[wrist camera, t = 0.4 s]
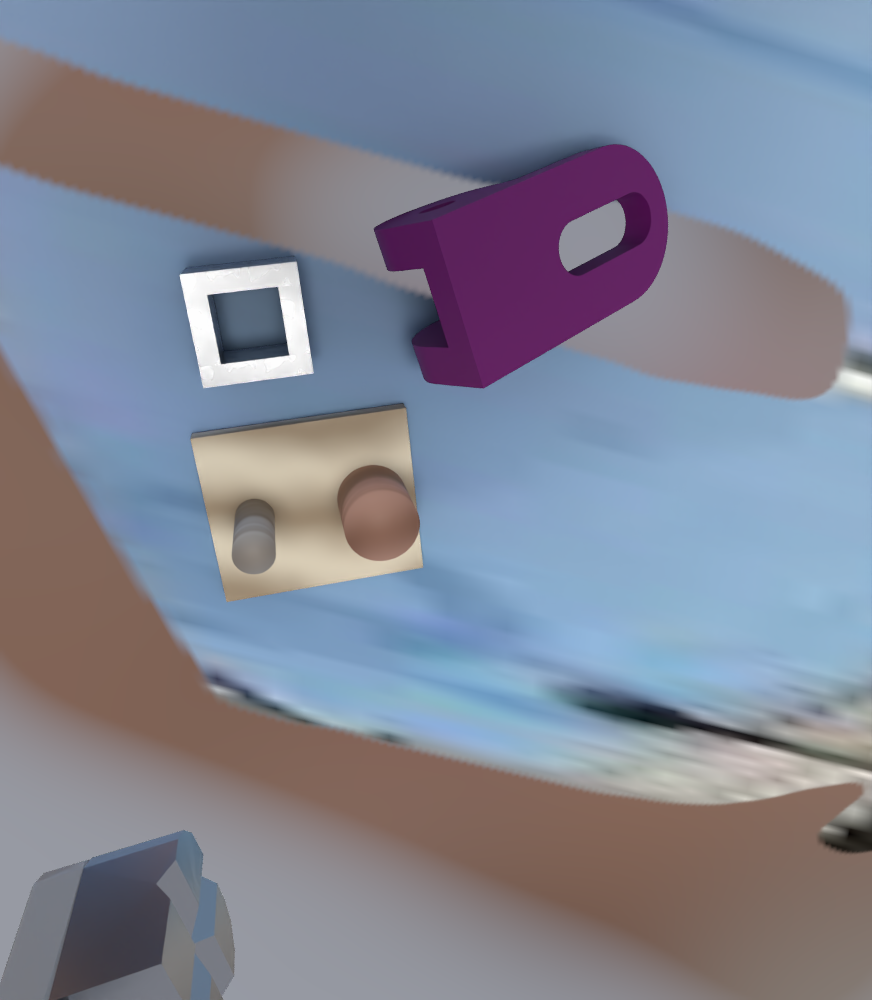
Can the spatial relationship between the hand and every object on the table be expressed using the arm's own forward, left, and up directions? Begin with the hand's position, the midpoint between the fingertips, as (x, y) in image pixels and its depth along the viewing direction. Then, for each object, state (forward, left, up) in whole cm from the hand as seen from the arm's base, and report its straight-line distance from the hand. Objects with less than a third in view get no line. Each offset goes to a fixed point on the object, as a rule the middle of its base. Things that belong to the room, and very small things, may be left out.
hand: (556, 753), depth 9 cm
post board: (+14, -2, -44) cm, 46 cm away
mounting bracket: (-1, +14, -45) cm, 47 cm away
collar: (+1, -4, -44) cm, 44 cm away
